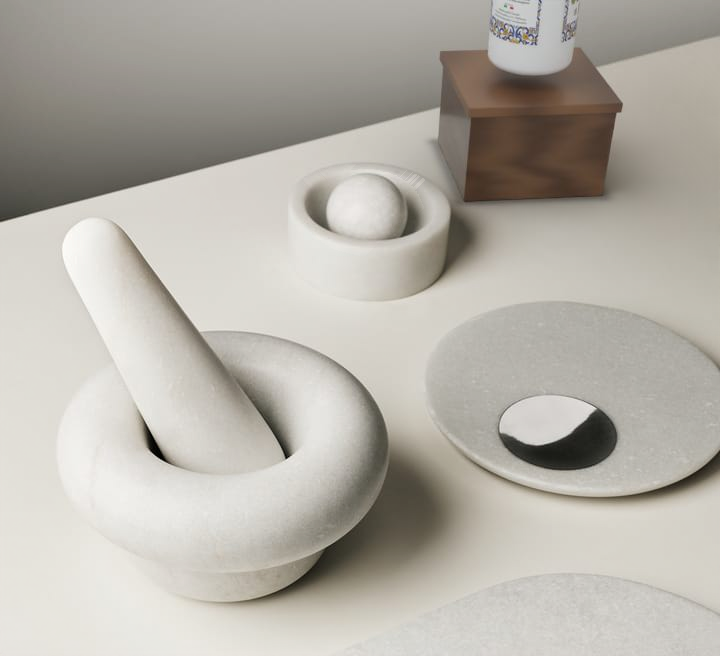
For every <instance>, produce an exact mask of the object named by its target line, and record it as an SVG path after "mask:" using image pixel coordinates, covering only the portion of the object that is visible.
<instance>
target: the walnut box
mask: <svg viewBox="0 0 720 656" xmlns="http://www.w3.org/2000/svg"><path fill="white" fill-rule="evenodd" d="M439 62H440V64H441V65H442V74H441V75H442V76H441V77H442V78H441V88H440V89H441V92H440V103H439V107H440V109H439V119H438V136H437V142H438V145H439V148H440V149H441V152H442V154H443V157H444V159H445V162H446V163H447V167H448V168H449V170H450V172H451V175H452V177H453V180H454V182H455V184H456V187H457V188H458V191H459V193H460V196H461V198H462V200H463V202H478V201H479V202H480V201H501V200H504V201H505V200H525V199H526V200H527V199H550V198H574V197H575V198H576V197H577V198H578V197H596V196H597V197H599V196H603V193H604V187H605V184H606V183H605V182H606V176H607V171H608V165H609V159H610V153H611V147H612V141H613V137H614V130H615V125H616V118H617V114H621V113H622V112H623V106H624V103H623V101H622V100H621V99H620V97H619V96H618V95H617V93H615V91H614V89H613V88H612V87H611V86H610V84H609V83H608V82H607V81H606V79H605V78H604V76H603V75H602V74H601V73H600V71H599V70H598V69H597V67H596V66H595V64H594V63H593V61H591V60H590V58H589V56H587V54H586V53H585V51H584V50H583V49H582V47H577V46H576V47H575V46H574V49H573V56H572V61H571V63H570V64H569V65H568V66H567V67H566V68H565V69H563V70H561V71H559V72H556V73H553V74H548V75H538V76H530V75H519V74H514V73H510V72H506V71H503V70H501V69H499V68H497V67H496V66H495V65H494V64H493V63H492V62H491V61H490V60H489V57H488V49H467V50H465V49H464V50H440V51H439Z"/></svg>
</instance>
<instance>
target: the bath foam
mask: <svg viewBox="0 0 720 656" xmlns="http://www.w3.org/2000/svg"><path fill="white" fill-rule="evenodd" d="M490 3H491V6H490V17H489V33H488V46H487V50H488V57H489V60H490V61H491V62H492V63H493V64H494V65H495V66H496V67H497V68H499V69H501V70H503V71H506V72H510V73H514V74H519V75H530V76H538V75H548V74H553V73H556V72H559V71H561V70H563V69H565V68H566V67H567V66H568V65H569V64H570V63H571V61H572V56H573V49H574V47H575V40H576V34H577V29H578V28H577V27H578V18H579V11H580V3H581V0H491V2H490Z"/></svg>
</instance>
